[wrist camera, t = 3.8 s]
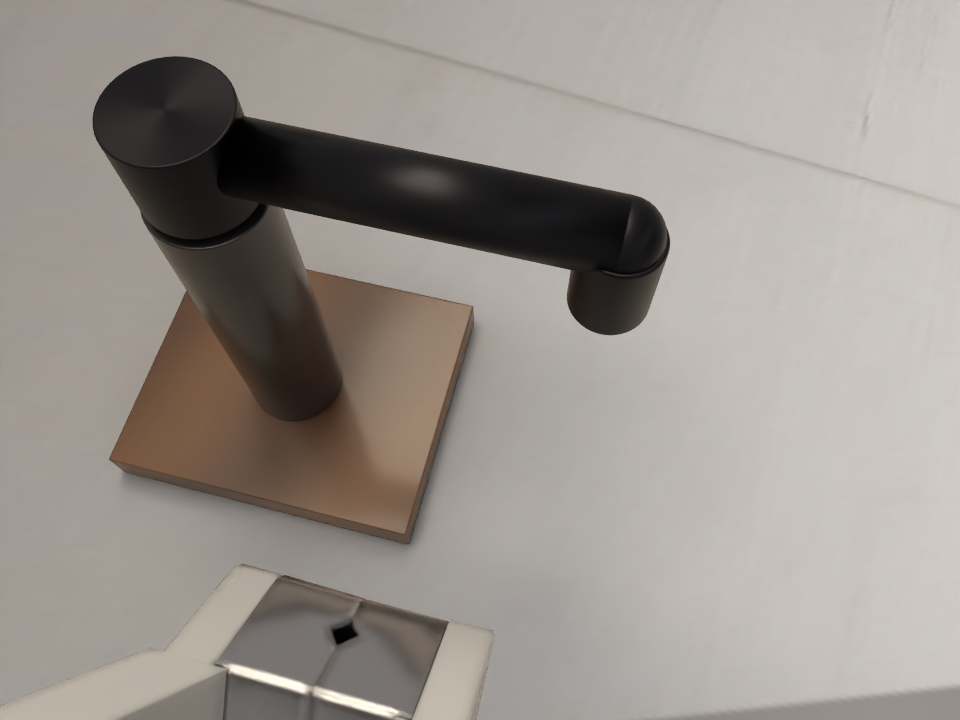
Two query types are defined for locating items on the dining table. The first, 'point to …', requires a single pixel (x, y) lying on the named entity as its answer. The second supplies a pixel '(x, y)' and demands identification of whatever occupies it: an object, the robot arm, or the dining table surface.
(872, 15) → the dining table surface
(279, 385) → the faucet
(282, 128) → the spout
